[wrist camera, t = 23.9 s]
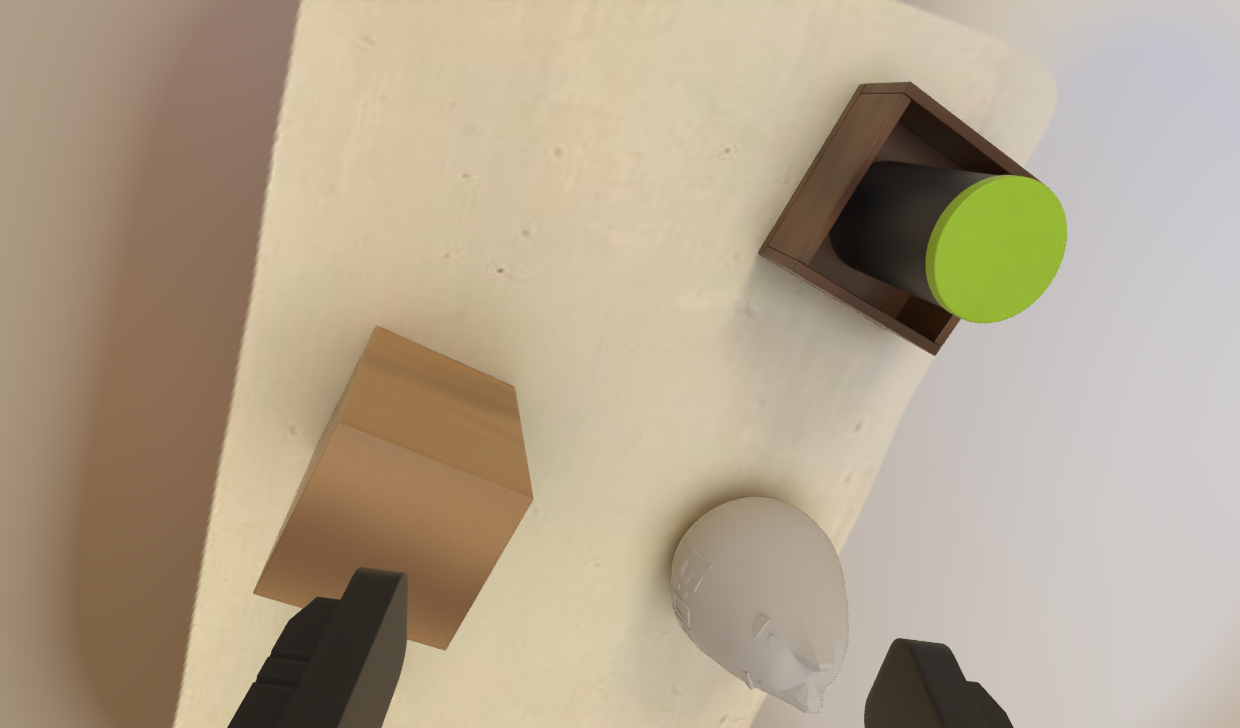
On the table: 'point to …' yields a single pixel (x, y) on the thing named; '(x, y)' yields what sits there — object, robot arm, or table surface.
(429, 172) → the table surface
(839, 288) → the bin
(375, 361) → the stand
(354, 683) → the robot arm
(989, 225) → the ball tube
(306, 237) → the table surface
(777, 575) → the toy character
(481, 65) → the table surface
